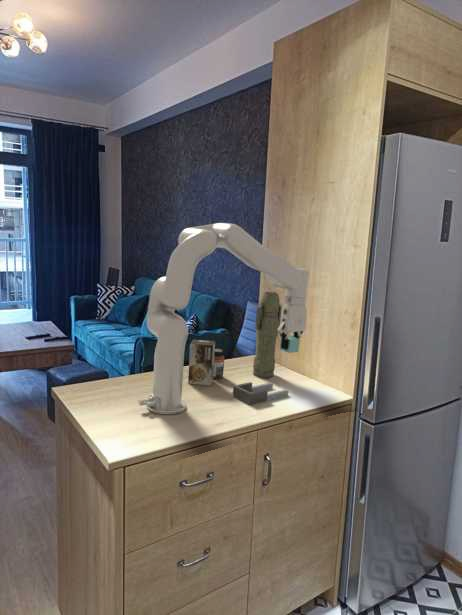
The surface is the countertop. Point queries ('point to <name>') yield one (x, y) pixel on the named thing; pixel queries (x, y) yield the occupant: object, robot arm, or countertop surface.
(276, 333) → the thermos
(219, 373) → the supplement bottle
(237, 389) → the channel
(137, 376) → the countertop surface
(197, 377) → the coffee box
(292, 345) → the teal block
